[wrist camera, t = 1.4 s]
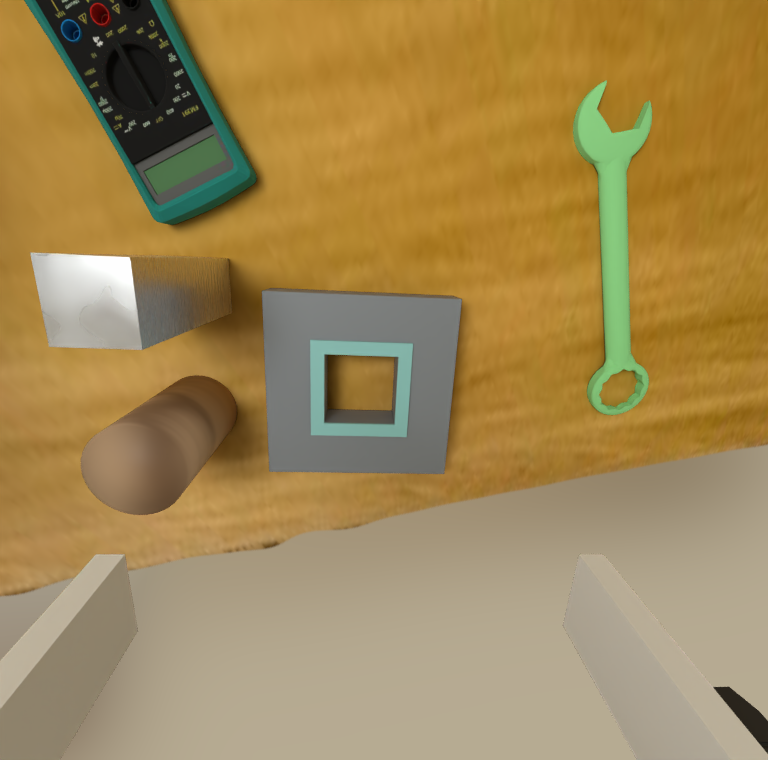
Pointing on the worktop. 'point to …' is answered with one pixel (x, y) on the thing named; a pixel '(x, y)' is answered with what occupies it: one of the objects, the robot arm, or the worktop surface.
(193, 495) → the worktop surface
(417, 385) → the socket plate
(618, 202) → the wrench
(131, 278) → the square bit
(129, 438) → the round dowel
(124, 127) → the digital multimeter
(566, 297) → the worktop surface
